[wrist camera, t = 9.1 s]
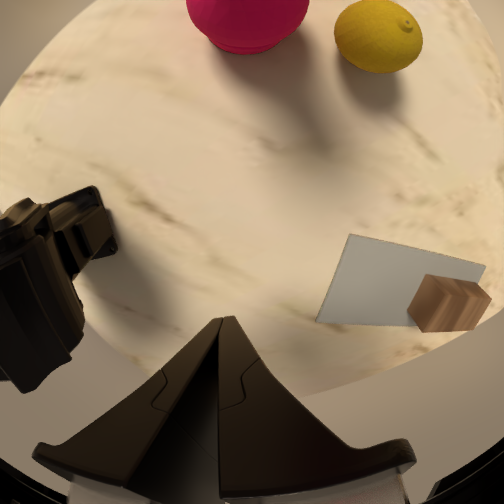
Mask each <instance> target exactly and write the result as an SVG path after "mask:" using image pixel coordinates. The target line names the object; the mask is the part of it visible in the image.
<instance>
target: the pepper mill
mask: <svg viewBox="0 0 504 504" xmlns="http://www.w3.org/2000/svg"><path fill="white" fill-rule="evenodd" d="M186 4H187V9H188V13H189V16H190V18H191V20H192V22H193V23H194V25H195V26H196V27H197V28H198V29H199V30H200V31H201V32H202V33H203V34H205V35H206V36H207V37H208V38H209V40H210V41H211V42H212V43H213V44H215V45H216V46H218V47H219V48H221V49H223V50H225V51H228V52H231V53H235V54H256V53H260V52H263V51H266V50H268V49H270V48H272V47H274V46H275V45H276V44H278V43H279V42H280V41H281V40H282V39H284V38H285V37H287V36H288V35H290V34H291V33H292V32H294V31H295V30H296V29H297V28H298V27H299V25H300V24H301V22H302V21H303V19H304V17H305V15H306V13H307V9H308V5H309V0H186Z"/></svg>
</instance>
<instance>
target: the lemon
mask: <svg viewBox="0 0 504 504" xmlns="http://www.w3.org/2000/svg"><path fill="white" fill-rule="evenodd" d="M334 36H335V42H336V44H337V47H338V49H339V50H340V52H341V53H342V55H343V56H344V57H345V58H346V59H347V60H348V61H349V62H350V63H352V64H353V65H355V66H356V67H358V68H361V69H363V70H365V71H369V72H374V73H391V72H395V71H398V70H401V69H403V68H405V67H407V66H408V65H410V64H411V63H412V62H413V61H415V60H416V59H417V57H418V56H419V54H420V52H421V49H422V44H423V38H422V32H421V29H420V27H419V25H418V23H417V21H416V20H415V18H414V17H413V16H412V15H411V14H410V13H409V12H408V11H407V10H406V9H404V8H403V7H401V6H400V5H398V4H396V3H394V2H392V1H389V0H361V1H358V2H356V3H354V4H351V5H350V6H348V7H347V8H346V9H345V10H344V11H343V12H342V13H341V14H340V15H339V17H338V19H337V21H336V23H335V28H334Z"/></svg>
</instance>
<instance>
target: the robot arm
mask: <svg viewBox="0 0 504 504" xmlns="http://www.w3.org/2000/svg"><path fill="white" fill-rule="evenodd" d="M90 190H92V194H91V193H90ZM112 233H113V232H112V229H111V226H110V224H109V221H108V218H107V215H106V213H105V210H104V207H102V204H101V201H100V198H99V195H98V192H97V189H96V187H95V186H92V185H91V186H88V187H86V188H83V189H81V190H78V191H76V192H73V193H71V194H69V195H66V196H64V197H62V198H59V199H57V200H55V201H53V202H50V203H44V204H36V203H34V202H33V201H32V200H31V199H30V198H29V197H28V198H25V199H22V200H21V201H19V202H17V203H16V204H14V205H12V206H11V207H9V208H8V209H7V210H6V211H5V212H4V214H3V215H1V217H0V382H3V381H11V382H12V383H13V384H14V385H15V386H16V387H17V389H18V390H19V391H20V392H21V393H23V394H25V393H28V392H31V391H33V390H35V389H37V387H38V386H39V385H40V384H41V382H42V381H43V380H44V379H45V378H46V377H47V376H48V375H49V374H50V373H51V372H52V371H54V370H55V369H56V368H58V367H59V366H61V365H63V364H65V363H68V362H70V361H71V360H72V357H71V356H70V353H71V352H72V351H73V350H74V348H75V347H76V346H77V345H78V344H79V343H80V341H81V339H82V338H83V336H84V333H83V331H82V330H83V327H84V323H85V317H84V312H83V304H82V301H81V300H79V297H78V295H77V293H76V290H75V288H74V285H73V283H72V282H73V280H74V279H75V278H76V277H77V275H78V274H79V273H80V272H81V271H82V269H83V268H84V267H85V266H86V264H87V263H88V262H89V261H90V260H94V259H98V258H102V257H106V256H110V255H114V254H115V253H116V252H117V251H118V247H117V244H116V242H115V239H114V237H113V234H112ZM111 247H112V248H113V249H114V250H112V249H111ZM32 458H33V459H34V460H35V461H37V462H38V463H39V464H41V465H43V466H44V467H46V468H47V469H49V470H51V471H52V472H54V473H56V474H58V475H59V476H61V477H63V478H65V479H66V480H68V481H70V487H69V491H68V496H65V495H63V494H61V493H58V492H56V491H54V490H52V489H50V488H48V487H46V486H44V485H42V484H41V483H39V482H37V481H35V480H33V479H32V478H30V477H28V476H27V475H25V474H23V473H22V472H20V471H19V470H17V469H16V468H14V467H13V466H11V465H10V464H8V463H7V462H5V461H4V460H3V459H1V458H0V504H225V502H227V503H230V504H410V502H409V498H408V495H407V491H406V488H405V485H404V481H403V478H402V474H403V473H405V472H406V471H407V470H408V469H410V468H411V467H412V466H413V465H414V464H415V463H416V462H417V459H416V456H415V454H414V451H413V449H412V447H411V445H410V443H409V442H408V440H406V439H403V438H401V439H394V440H390V441H387V442H384V443H380V444H377V445H375V446H372V447H369V448H364V449H357V448H353V447H350V446H349V445H347V444H346V443H345V442H343V441H342V440H341V439H340V438H339V437H338V436H336V435H335V434H334V433H333V432H332V431H331V430H330V429H328V428H327V427H326V426H325V425H324V424H323V423H322V422H321V421H320V420H319V419H317V418H316V417H315V416H314V415H313V414H312V413H311V412H310V411H309V410H308V409H307V408H305V407H304V405H302V404H301V403H300V402H299V401H298V400H297V399H296V398H295V397H294V396H293V395H292V394H291V393H290V392H289V391H288V390H287V389H286V388H285V387H284V386H283V385H282V384H281V383H280V382H279V381H278V380H277V379H276V378H275V377H274V376H273V374H272V373H271V372H270V371H269V369H268V368H267V366H266V365H265V364H264V362H263V360H262V359H261V358H260V356H259V355H258V353H257V351H256V350H255V348H254V347H253V345H252V343H251V342H250V340H249V339H248V337H247V335H246V334H245V332H244V330H243V329H242V327H241V326H240V324H239V322H238V321H237V319H236V317H235V316H227V317H224V318H223V317H221V318H214V319H212V320H211V321H210V322H209V323H208V324H207V325H206V326H205V327H204V328H203V329H202V330H201V331H200V332H199V333H198V334H197V335H196V336H195V337H194V338H193V339H192V340H191V341H189V342H188V343H187V344H186V345H185V346H184V347H183V348H182V349H181V350H180V351H179V352H178V353H177V354H176V355H175V356H174V357H173V358H172V359H171V360H170V361H168V362H167V363H166V364H165V365H164V366H163V367H162V368H161V370H158V371H157V372H156V373H155V374H154V375H153V376H152V377H151V378H150V379H149V380H147V381H146V382H145V383H144V384H143V385H142V386H140V387H139V388H138V389H137V390H135V391H134V392H133V393H132V394H130V395H129V396H127V398H125V399H124V400H122V401H121V402H119V403H118V404H117V405H115V406H114V407H113V408H111V409H110V410H109V411H107V412H106V413H105V414H104V415H102V416H101V417H99V418H98V419H97V420H95V421H94V422H93V423H91V424H90V425H88V426H87V427H85V428H84V429H83V430H81V431H80V432H78V433H77V434H76V435H74V436H73V437H71V438H70V439H69V440H67V441H66V442H64V443H62V444H60V445H56V446H52V445H49V444H46V443H43V442H40V443H38V445H37V446H36V447H35V449H34V451H33V453H32ZM420 504H504V437H503V438H502V439H501V440H500V441H499V442H497V443H496V444H495V445H494V446H492V447H491V448H490V449H488V450H487V451H486V452H484V453H483V454H481V455H480V456H478V457H477V458H475V459H474V460H473V461H471V462H470V463H468V464H466V465H465V466H463V467H462V468H460V469H458V470H457V471H455V472H453V473H452V474H450V475H448V476H446V477H445V478H443V479H441V480H439V481H438V482H436V483H435V485H434V487H433V488H432V490H431V492H430V494H429V496H428V498H427V500H426V501H424V502H422V503H420Z"/></svg>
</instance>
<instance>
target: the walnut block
mask: <svg viewBox="0 0 504 504" xmlns="http://www.w3.org/2000/svg"><path fill="white" fill-rule="evenodd" d="M491 300H492V299H491V298H490V296H489V295H488V294H487V293H486V292H485V291H484V290H483V289H482V288H481V287H480V286H479V285H478V284H477V283H476V282H471V281H465V280H459V279H454V278H448V277H442V276H436V275H430V274H425V276H424V278H423V280H422V282H421V284H420V286H419V288H418V290H417V292H416V294H415V296H414V298H413V299H412V301H411V303H410V305H409V307H408V309H407V311H408V313H409V314H410V316H411V317H412V318H413V320H414V321H415V323H416V324H417V326H418V327H419V329H420V330H421V332H422V333H427V332H452V331H468V330H473V329H474V328H475V326H476V325H477V323H478V322H479V320H480V318H481V317H482V315H483V314H484V312H485V310H486V309H487V307H488V305H489V304H490V302H491Z"/></svg>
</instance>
